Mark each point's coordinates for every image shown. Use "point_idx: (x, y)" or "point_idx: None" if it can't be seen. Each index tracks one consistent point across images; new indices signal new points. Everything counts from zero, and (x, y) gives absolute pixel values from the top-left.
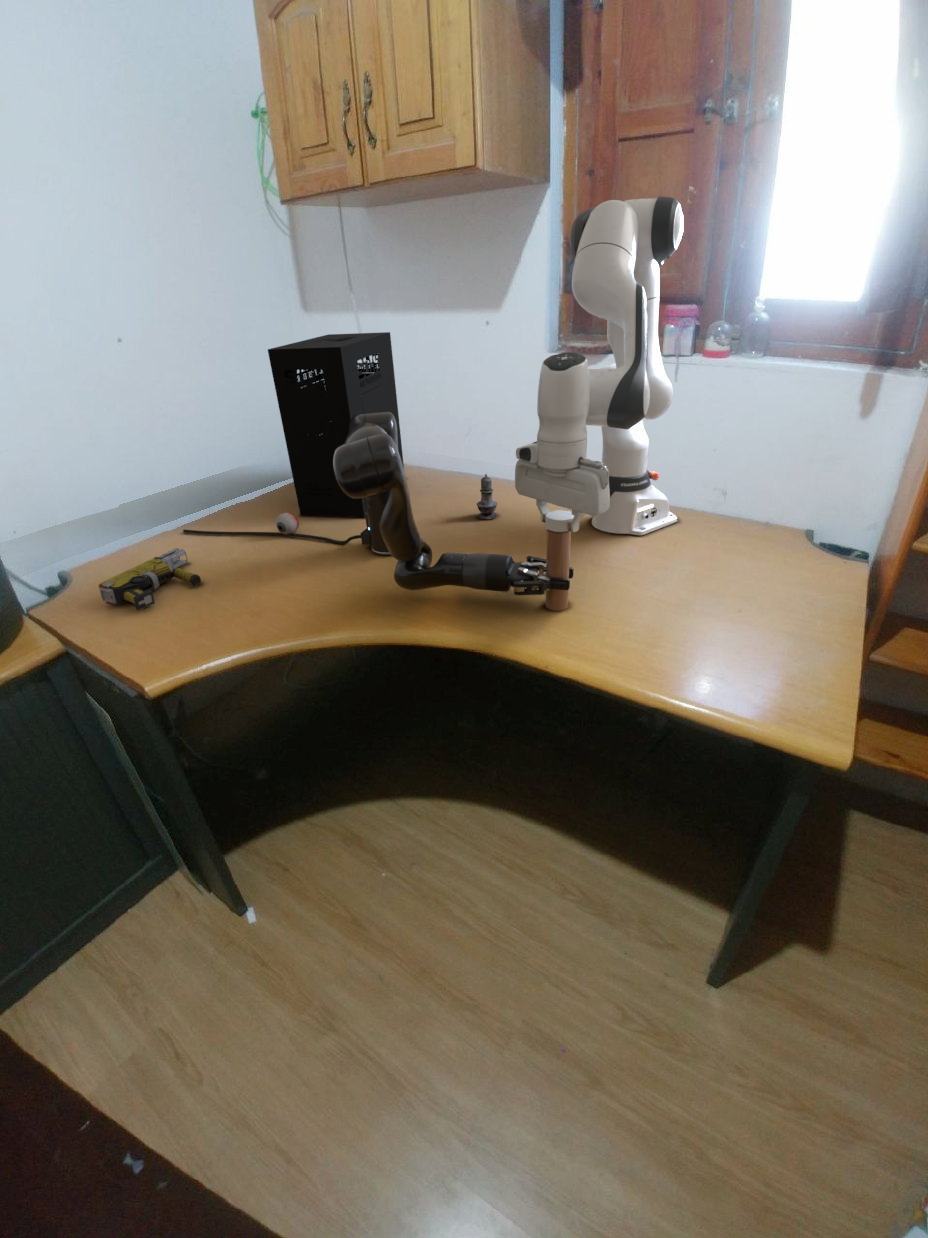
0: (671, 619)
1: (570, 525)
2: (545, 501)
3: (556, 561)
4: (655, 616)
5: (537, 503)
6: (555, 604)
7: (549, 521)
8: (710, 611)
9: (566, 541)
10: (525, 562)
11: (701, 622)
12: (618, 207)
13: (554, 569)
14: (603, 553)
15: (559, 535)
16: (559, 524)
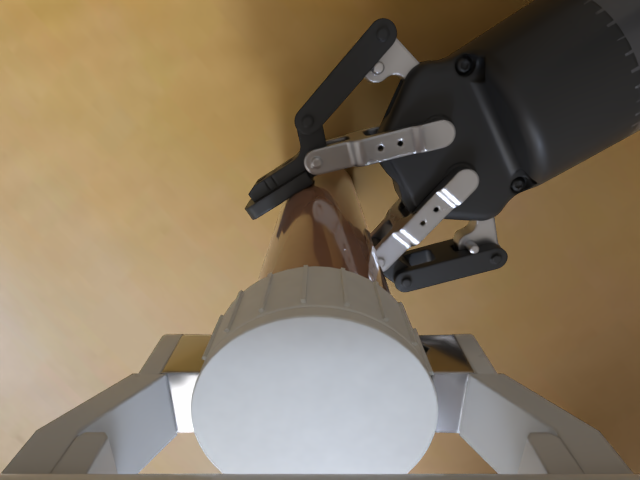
0: (72, 328)
1: (171, 358)
2: (468, 476)
3: (290, 216)
4: (105, 316)
5: (589, 440)
6: None
7: (328, 301)
8: (51, 405)
9: None
10: (465, 193)
11: (24, 358)
12: None
13: (300, 200)
14: (416, 472)
15: None
16: (237, 318)
